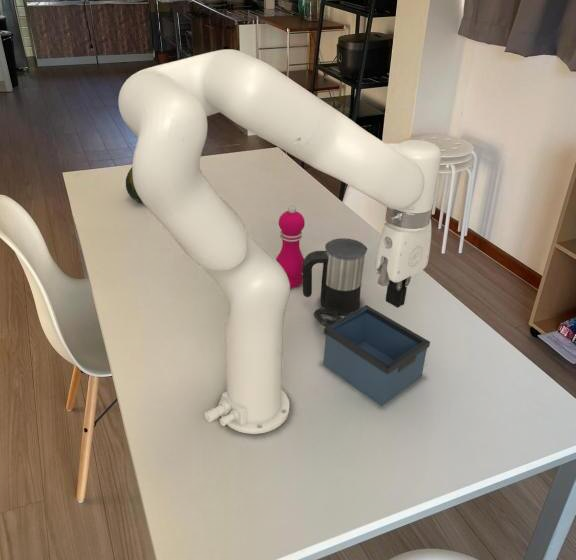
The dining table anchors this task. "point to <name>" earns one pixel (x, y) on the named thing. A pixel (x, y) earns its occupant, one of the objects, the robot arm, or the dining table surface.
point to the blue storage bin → (374, 353)
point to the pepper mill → (291, 245)
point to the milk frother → (336, 277)
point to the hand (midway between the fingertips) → (394, 302)
